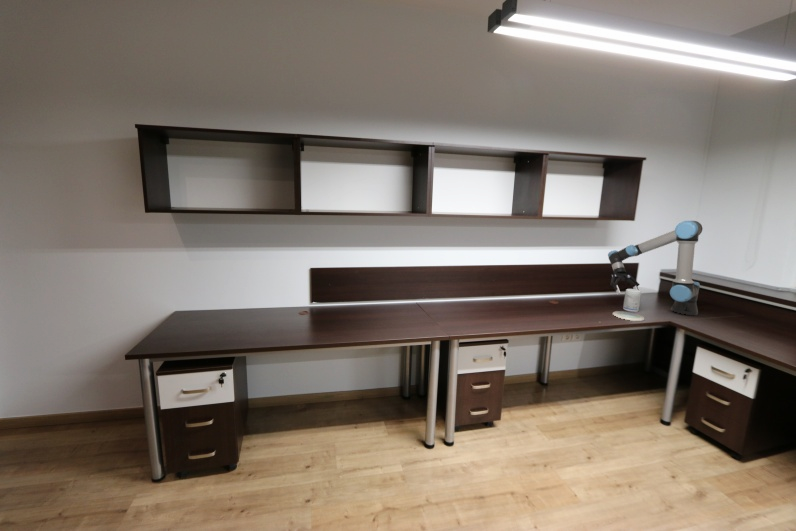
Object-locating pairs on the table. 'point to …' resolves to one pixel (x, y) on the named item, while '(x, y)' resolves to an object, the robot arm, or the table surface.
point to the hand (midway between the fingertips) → (628, 294)
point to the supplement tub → (632, 300)
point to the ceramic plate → (628, 316)
